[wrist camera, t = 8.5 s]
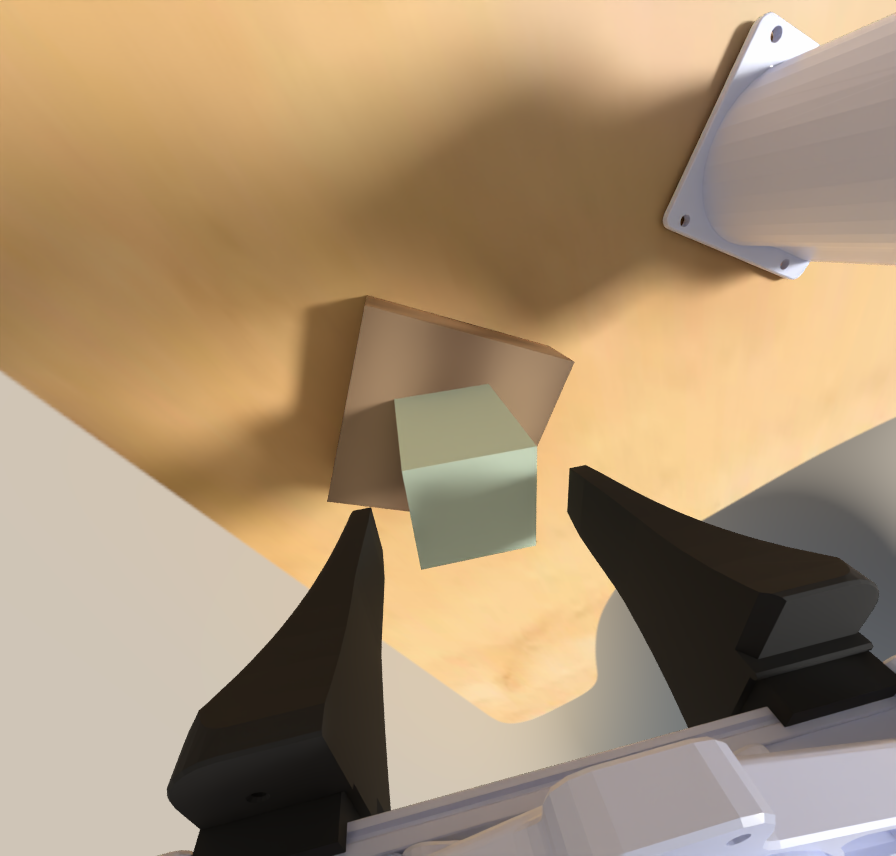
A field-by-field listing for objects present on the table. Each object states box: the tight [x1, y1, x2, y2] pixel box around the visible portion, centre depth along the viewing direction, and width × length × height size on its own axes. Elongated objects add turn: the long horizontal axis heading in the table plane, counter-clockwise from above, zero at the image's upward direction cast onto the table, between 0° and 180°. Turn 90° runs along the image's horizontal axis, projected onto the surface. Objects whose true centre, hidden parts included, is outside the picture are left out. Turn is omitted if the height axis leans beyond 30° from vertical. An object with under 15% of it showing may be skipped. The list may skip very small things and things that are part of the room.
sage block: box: [394, 384, 537, 570], centre depth 16 cm, size 4×4×6 cm
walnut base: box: [327, 296, 574, 511], centre depth 20 cm, size 10×10×3 cm
